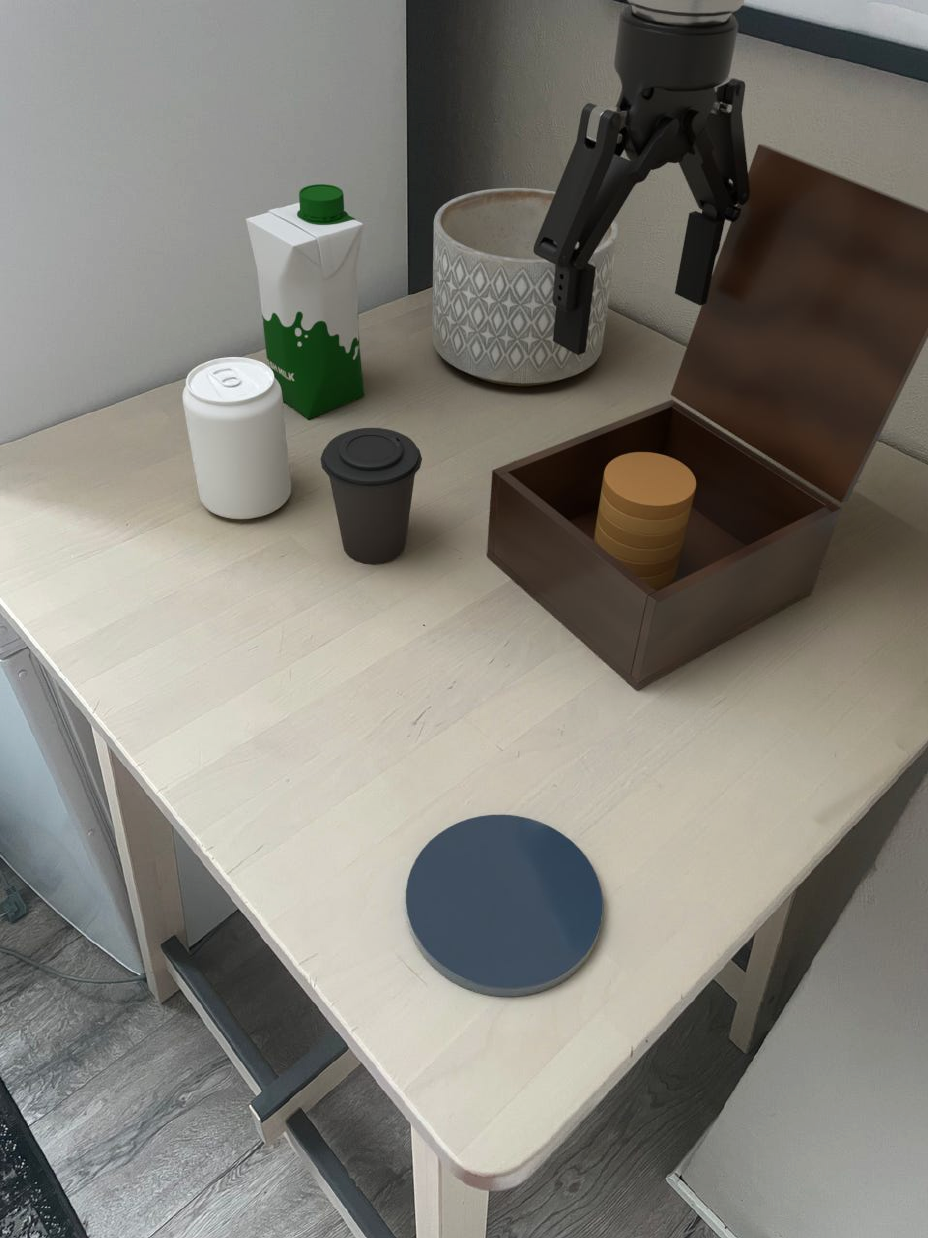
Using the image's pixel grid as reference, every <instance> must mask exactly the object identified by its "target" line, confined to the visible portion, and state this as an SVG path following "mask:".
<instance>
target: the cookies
mask: <svg viewBox="0 0 928 1238" xmlns="http://www.w3.org/2000/svg"><path fill="white" fill-rule="evenodd" d="M695 489H696V479H695V476H694V475H693V473H692V472H691V470H690V469H689V468H688V467H687V466H685V465H684V464H683V463H681V462H679V461H677V460H675V459H673V458H671V457H668V456H665V455H661V454H657V453H650V452H634V453H628V454H624V455H621V456H619V457H617V458H615V459H613V460H612V461H611V462H610V463H609V464H608V465H607V466H606V468H605V471H604V477H603V484H602V490H601V496H600V503H599V509H598V516H597V522H596V529H595V535H594V541H595V542H596V543H597V544H598V545H600V546H601V547H602V548H603V549H605V550H606V551H607V552H608V553H610V554H611V555H612V556H613V557H615V558H616V559H617V560H618V561H620V562H621V563H622V564H623V565H625V566H626V567H627V568H628V569H630V570H631V571H632V572H633V573H635V574H636V575H637V576H638V577H640V578H641V579H642V580H643V581H645V582H646V583H647V584H648V585H650V586H651V587H652V588H653V589H655V590H656V592H657V591H659V590H661V589H663V588H665V587H667V586H669V585H671V584H673V583H674V580H675V576H676V571H677V567H678V563H679V558H680V554H681V550H682V546H683V541H684V537H685V533H686V528H687V524H688V520H689V515H690V511H691V507H692V502H693V498H694V494H695Z"/></svg>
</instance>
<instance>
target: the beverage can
mask: <svg viewBox="0 0 928 1238" xmlns="http://www.w3.org/2000/svg"><path fill="white" fill-rule="evenodd" d="M182 404H183V410H184V416H185V422H186V427H187V434H188V439H189V444H190V450H191V456H192V457H191V458H192V461H193V467H194V474H195V479H196V484H197V491H198V496H199V500H200V502H201V504H202V506H204V507H205V509H206V510H208V511H209V512H211V513H212V514H215V515H217V516H219V517H222V518H226V519H232V520H249V519H256V518H261V517H263V516H267V515H269V514H272V513H273V512H275V511H277V510H278V509H280V508H281V507H283V505H285V504H286V502H287V501H288V500H289V498H290V496H291V493H292V482H291V481H292V480H291V471H290V460H289V450H288V440H287V429H286V420H285V418H286V417H285V410H284V408H285V407H284V402H283V398H282V390H281V386H280V384H279V382H278V381H277V380H276V378H275V377H274V373H273V371H272V370H271V369H270V367H268V366H267V363H264V362H262V361H259V360H257V359H254V358H248V357H243V356H242V357H240V356H227V357H220V358H215V359H211V360H208V361H205V362H203V363H201V364H199V365H197V366H196V367H194V368H193V369H192V370H190V371H189V372H188V374H187V376H186V379H185V386H184V388H183V391H182Z"/></svg>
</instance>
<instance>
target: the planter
mask: <svg viewBox="0 0 928 1238" xmlns="http://www.w3.org/2000/svg"><path fill="white" fill-rule="evenodd" d="M555 193H556V191H555V190H554V191H553V190H547V189H540V188H530V187H529V188H527V187H501V188H500V187H499V188H491V189H490V188H489V189H483V190H477V191H473V192H469V193H465V194H462V195H460V196H457V197H455V198H452V199H451V200H449V201H447V202H446V203H444V204H443V205H442V206H440V208H438V210H437V211H436V213H435V214H434V218H433V250H432V251H433V252H432V254H433V256H432V313H431V314H432V316H431V317H432V318H431V319H432V320H431V321H432V322H431V324H432V325H431V338H432V345H433V346H434V348H435V351H436V352H437V353H438V354H439V355H440V357H441V358H442V359H444V361H446V363H448V364H449V365H451V366H453V367H455V368H456V369H458V370H460V371H462V372H464V373H467V374H469V376H473V377H474V378H477V379H479V380H483V381H485V382H489V383H493V384H497V385H505V386H513V387H533V386H542V385H547V384H552V383H555V382H558V381H561V380H566V379H568V378H571V377H574V376H577V375H578V374H581V373H583V372H584V371H587V369H589V368H591V367H592V366H593V365H594V364H595V363H596V362H597V361H598V359H599V357H600V356H601V354H602V350H603V344H604V338H605V331H606V322H607V317H608V308H609V302H610V295H611V294H610V293H611V289H612V279H613V272H614V266H615V259H616V250H617V245H618V236H619V226H618V224H617V221H616V220H615V219H614V220H613V222H612V224H611V225H610V227H609V229H608V230H607V232H606V234H605V235H604V237H603V238H602V240H601V242H600V243H599V245H598V247H597V248H596V250H595V252H594V253H593V255H592V257H591V258H590V260H589V261H588V263H589V264H591V265H593V266H595V267H596V270H595V278H594V287H593V295H592V303H591V311H590V319H589V327H588V335H587V343H586V351H585V353H583V354H580V355H576V354H575V353H573V352H571V351H569V350H568V349H566V348H564V347H562V346H561V345H559V344H557V343H555V342H554V341H553V333H554V323H555V313H556V306H554V304H553V300H552V298H553V292H554V291H553V287H554V277H555V264H553V263H551V262H549V261H547V260H545V259H543V258H541V257H539V256H537V255H536V254H534V249H533V248H534V244H535V242H536V239H537V237H538V235H539V232H540V230H541V227H542V225H543V222H544V220H545V217H546V215H547V212H548V210H549V207H550V205H551V202H552V200H553V198H554V195H555ZM578 246H579V242H577V244H576V247H575V248H578Z"/></svg>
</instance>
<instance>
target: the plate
mask: <svg viewBox="0 0 928 1238" xmlns="http://www.w3.org/2000/svg"><path fill="white" fill-rule="evenodd" d="M405 915H406V921H407V925H408V929H409V933H410V935H411V937H412V940H413V942H414V944H415V946H416V948H417V949H418V950H419V952H420V954H421V955H422V956H423V958H424V959H425V960H426V961H427V962H428V963H429V964H430V966H431V967H432V968H434V969H435V971H437V972H438V973H439V974H440V975H441V976H443V977H445V978H446V979H448V980H449V981H450V982H452V983H453V984H455V985H458V986H460V987H461V988H463V989H467V990H469V991H472V992H475V993H479V994H483V995H487V996H492V997H502V998H509V997H511V998H514V997H524V996H530V995H534V994H538V993H541V992H544V991H547V990H549V989H552V988H554V987H556V986H558V985H559V984H561V983H562V982H564V981H565V980H567V979H568V978H570V977H571V976H572V975H573V974H575V973H576V972H577V971H578V970H579V969H580V968H581V967H582V965H583V964H585V962H586V961H587V959H588V957H590V955H591V953H592V952H593V949H594V947H595V945H596V943H597V941H598V937H599V934H600V930H601V926H602V921H603V915H604V898H603V892H602V888H601V884H600V881H599V877H598V875H597V873H596V871H595V869H594V867H593V865H592V863H591V862H590V861H589V859H588V857H587V856H586V855H585V854H584V852H583V851H582V850H581V849H580V847H579V846H578V845H576V844H575V843H574V842H573V841H572V839H570V838H569V837H567V836H566V835H564V834H563V833H562V832H560V831H558V830H557V829H555V828H553V827H552V826H550V825H548V824H545V823H543V822H541V821H539V820H535V819H532V818H529V817H524V816H520V815H513V814H486V815H479V816H475V817H471V818H467V819H465V820H462V821H459V822H457V823H454V824H453V825H452V824H451V826H449V827H447V828H445V829H444V830H442V831H440V832H439V833H437V834H436V835H435V836H434V837H433V838H432V839H430V840H429V842H427V844H425V846H424V847H423V848H422V849H421V851H419V854H418V855H417V857H416V858H415V860H414V861H413V864H412V866H411V868H410V871H409V874H408V878H407V881H406V888H405Z"/></svg>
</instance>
